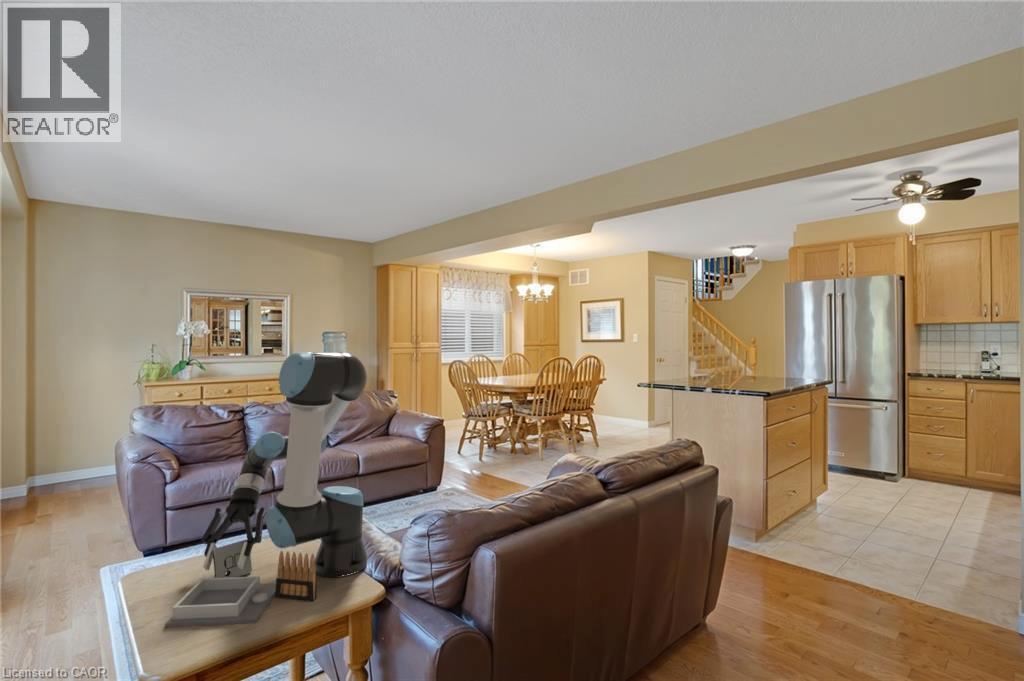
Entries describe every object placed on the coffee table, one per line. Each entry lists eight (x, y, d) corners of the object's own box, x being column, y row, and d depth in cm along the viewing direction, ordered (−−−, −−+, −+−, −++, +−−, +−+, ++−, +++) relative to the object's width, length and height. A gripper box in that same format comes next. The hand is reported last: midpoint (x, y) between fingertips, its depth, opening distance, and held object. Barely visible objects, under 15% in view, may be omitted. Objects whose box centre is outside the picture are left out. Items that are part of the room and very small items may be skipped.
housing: (280, 585, 137) (280, 572, 137) (256, 622, 119) (256, 607, 119) (201, 589, 134) (201, 575, 134) (164, 627, 117) (165, 611, 117)
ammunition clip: (316, 598, 131) (318, 552, 131) (312, 602, 129) (314, 555, 129) (279, 594, 133) (280, 549, 133) (274, 597, 131) (276, 551, 131)
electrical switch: (217, 585, 137) (217, 550, 137) (209, 581, 140) (209, 547, 140) (252, 573, 144) (252, 540, 145) (244, 569, 147) (243, 537, 148)
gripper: (285, 497, 159) (265, 571, 143) (214, 498, 156) (186, 574, 140) (280, 485, 153) (259, 561, 137) (207, 486, 150) (177, 563, 135)
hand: (223, 567), depth 139 cm, fingers closed on electrical switch, 8 cm apart
